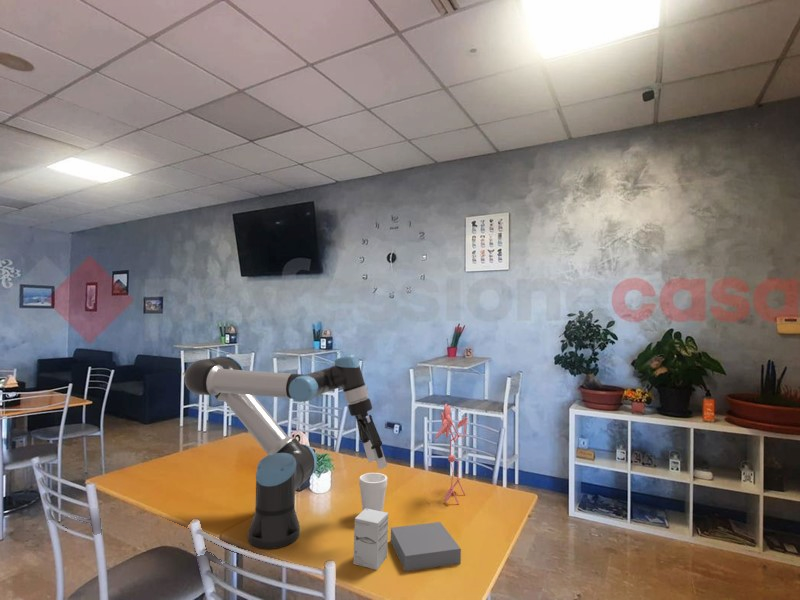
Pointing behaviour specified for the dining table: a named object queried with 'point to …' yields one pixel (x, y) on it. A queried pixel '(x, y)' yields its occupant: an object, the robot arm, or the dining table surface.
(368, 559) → the supplement box
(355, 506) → the dining table surface
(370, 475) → the foam cup
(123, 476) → the dining table surface
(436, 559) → the block
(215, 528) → the dining table surface
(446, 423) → the pink stick sculpture
